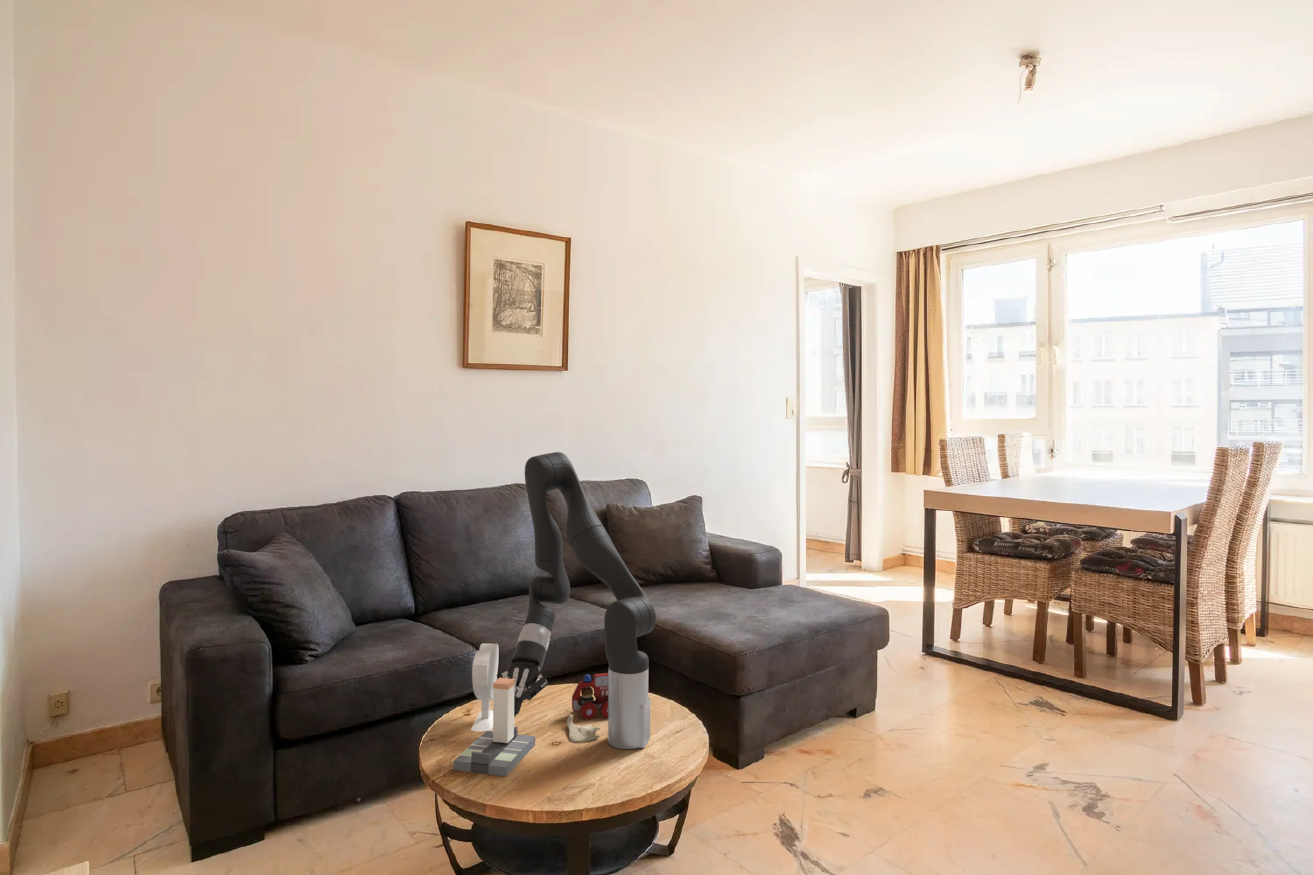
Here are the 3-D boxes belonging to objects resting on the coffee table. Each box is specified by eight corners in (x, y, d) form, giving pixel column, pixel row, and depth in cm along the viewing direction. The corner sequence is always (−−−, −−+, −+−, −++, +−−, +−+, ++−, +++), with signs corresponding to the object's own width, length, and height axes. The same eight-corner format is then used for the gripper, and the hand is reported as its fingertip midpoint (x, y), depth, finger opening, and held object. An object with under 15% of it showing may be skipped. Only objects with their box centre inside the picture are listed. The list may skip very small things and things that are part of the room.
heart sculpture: (481, 708, 197) (481, 638, 197) (501, 708, 197) (501, 638, 197) (468, 733, 182) (469, 657, 181) (490, 733, 182) (490, 657, 181)
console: (535, 744, 176) (535, 727, 176) (506, 776, 160) (506, 757, 160) (486, 739, 179) (486, 722, 178) (453, 769, 163) (453, 751, 163)
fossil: (591, 724, 189) (591, 710, 189) (600, 741, 179) (600, 727, 179) (563, 726, 187) (563, 712, 187) (571, 744, 177) (571, 730, 177)
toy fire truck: (570, 710, 196) (570, 670, 196) (617, 706, 199) (618, 666, 199) (573, 721, 190) (574, 679, 189) (623, 717, 193) (623, 675, 192)
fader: (514, 736, 175) (514, 679, 174) (507, 743, 171) (508, 684, 171) (499, 734, 175) (499, 677, 175) (492, 741, 172) (492, 682, 172)
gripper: (502, 637, 188) (479, 705, 176) (553, 641, 185) (533, 710, 173) (511, 652, 193) (489, 719, 181) (561, 656, 190) (542, 724, 178)
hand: (511, 714), depth 177 cm, fingers closed
